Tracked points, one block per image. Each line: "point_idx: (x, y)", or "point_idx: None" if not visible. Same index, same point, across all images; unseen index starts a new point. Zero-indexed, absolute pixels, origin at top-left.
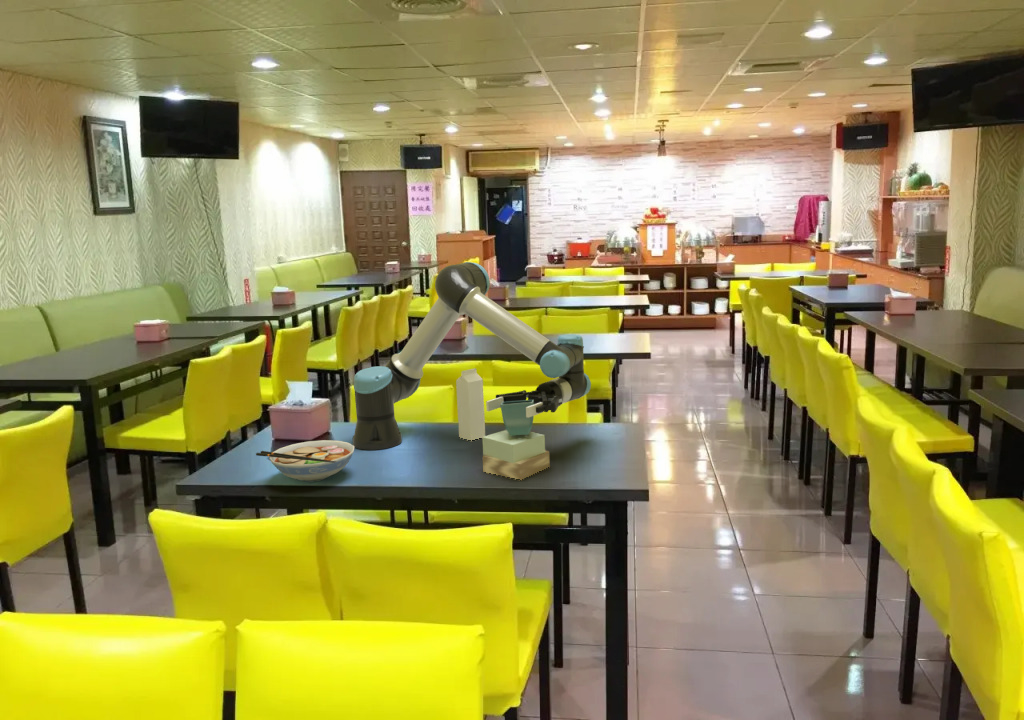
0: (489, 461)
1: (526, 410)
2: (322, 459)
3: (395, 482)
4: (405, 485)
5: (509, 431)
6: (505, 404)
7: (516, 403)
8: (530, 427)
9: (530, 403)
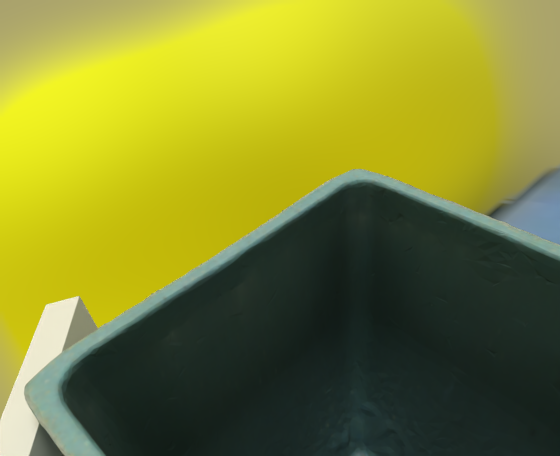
0: None
1: (88, 326)
2: None
3: (553, 209)
4: (504, 221)
5: (344, 408)
6: (317, 188)
7: (226, 248)
8: None
9: (59, 364)
